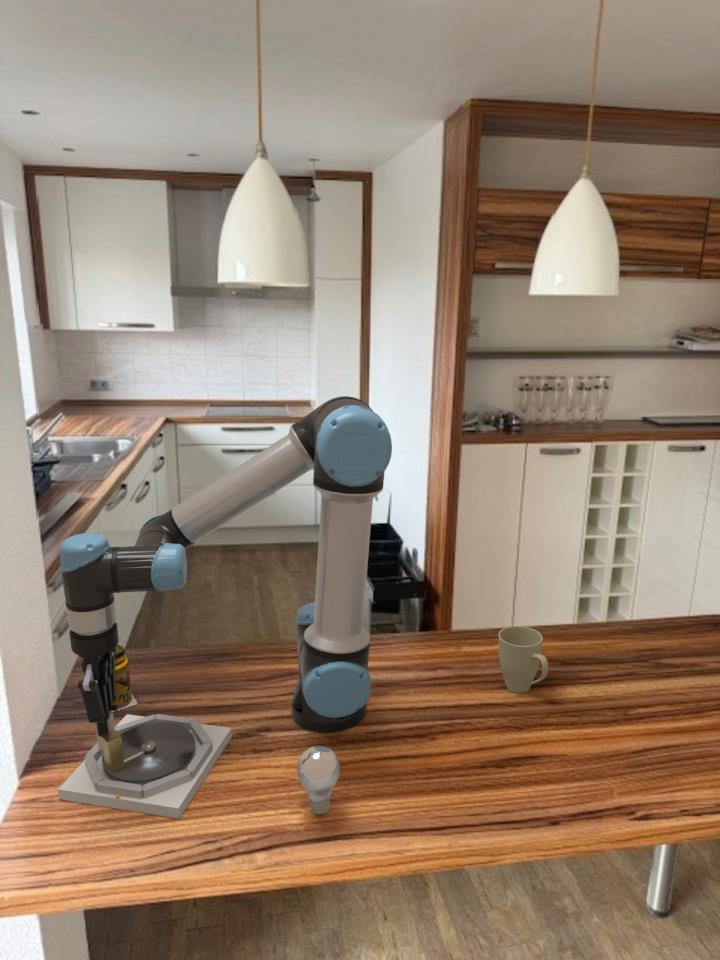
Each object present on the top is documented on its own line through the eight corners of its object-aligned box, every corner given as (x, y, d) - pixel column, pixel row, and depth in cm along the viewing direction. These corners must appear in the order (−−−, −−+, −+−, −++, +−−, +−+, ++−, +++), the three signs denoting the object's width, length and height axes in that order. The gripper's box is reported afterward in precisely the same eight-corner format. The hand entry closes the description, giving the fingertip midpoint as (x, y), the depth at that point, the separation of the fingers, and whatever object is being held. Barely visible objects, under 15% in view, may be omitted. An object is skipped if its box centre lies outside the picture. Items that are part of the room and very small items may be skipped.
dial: (167, 718, 139) (163, 685, 137) (212, 754, 128) (209, 719, 126) (87, 755, 128) (82, 720, 126) (129, 799, 117) (125, 761, 115)
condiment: (138, 704, 148) (132, 652, 145) (96, 718, 143) (89, 664, 140) (127, 688, 154) (122, 637, 150) (87, 700, 149) (80, 649, 146)
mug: (491, 696, 149) (493, 644, 146) (501, 672, 158) (503, 623, 154) (545, 706, 145) (548, 653, 142) (551, 682, 154) (555, 631, 150)
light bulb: (298, 799, 120) (296, 737, 117) (340, 796, 120) (338, 734, 117) (298, 829, 113) (296, 765, 110) (342, 826, 114) (341, 762, 111)
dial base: (232, 736, 137) (230, 721, 136) (179, 818, 116) (177, 800, 115) (127, 723, 141) (126, 707, 140) (59, 799, 121) (56, 781, 120)
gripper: (83, 608, 125) (97, 725, 131) (55, 645, 112) (73, 772, 119) (126, 607, 125) (138, 724, 132) (103, 644, 113) (118, 771, 119)
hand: (107, 747), depth 125 cm, fingers closed
